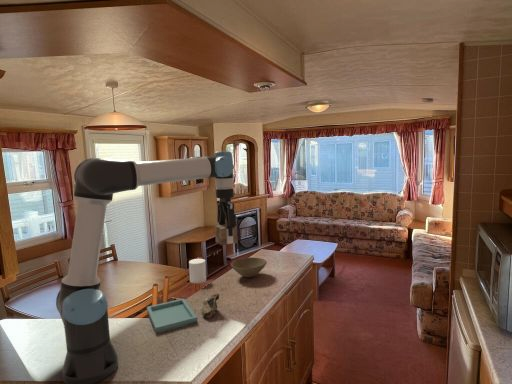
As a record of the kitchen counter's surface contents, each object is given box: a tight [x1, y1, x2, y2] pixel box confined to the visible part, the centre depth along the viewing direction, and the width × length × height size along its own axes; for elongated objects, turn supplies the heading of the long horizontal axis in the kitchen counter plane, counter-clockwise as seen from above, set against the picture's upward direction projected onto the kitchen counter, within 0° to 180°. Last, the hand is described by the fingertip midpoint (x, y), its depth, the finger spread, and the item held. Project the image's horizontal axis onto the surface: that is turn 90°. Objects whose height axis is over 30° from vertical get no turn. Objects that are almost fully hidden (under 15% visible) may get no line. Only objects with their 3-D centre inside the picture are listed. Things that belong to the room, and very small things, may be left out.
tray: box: [146, 298, 198, 334], centre depth 133 cm, size 19×15×2 cm
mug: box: [188, 258, 207, 284], centre depth 172 cm, size 8×10×12 cm
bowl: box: [230, 257, 268, 278], centre depth 173 cm, size 18×18×8 cm
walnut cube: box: [214, 224, 238, 246], centre depth 142 cm, size 7×7×7 cm
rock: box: [201, 292, 220, 319], centre depth 135 cm, size 9×7×10 cm
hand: (226, 241), depth 143 cm, fingers closed on walnut cube, 7 cm apart
